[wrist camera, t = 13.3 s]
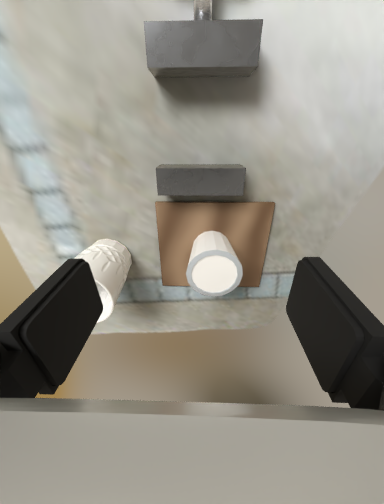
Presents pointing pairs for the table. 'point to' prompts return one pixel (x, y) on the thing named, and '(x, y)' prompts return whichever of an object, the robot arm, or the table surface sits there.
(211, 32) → the vise
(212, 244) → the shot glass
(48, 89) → the table surface
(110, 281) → the white cup
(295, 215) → the table surface
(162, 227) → the serving board
